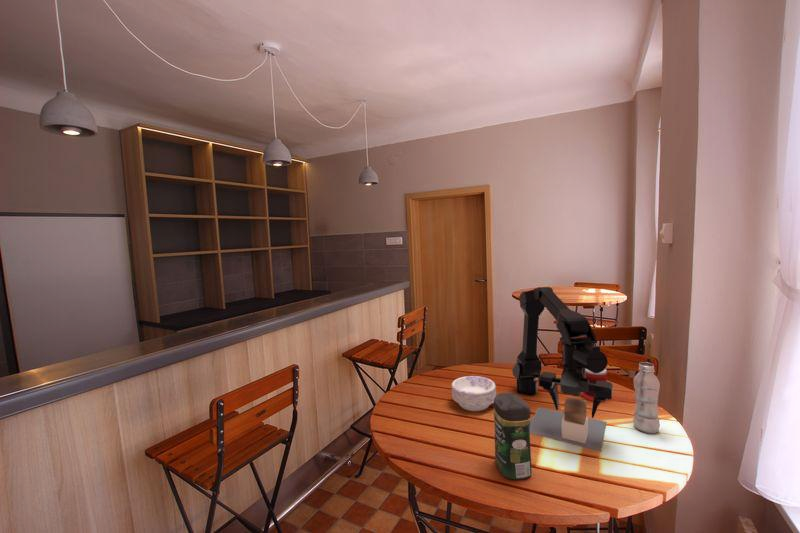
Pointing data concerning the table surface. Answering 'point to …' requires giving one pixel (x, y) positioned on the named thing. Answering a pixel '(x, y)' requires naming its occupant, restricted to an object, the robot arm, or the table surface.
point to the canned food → (594, 382)
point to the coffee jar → (512, 436)
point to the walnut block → (575, 410)
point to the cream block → (575, 431)
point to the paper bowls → (473, 392)
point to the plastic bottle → (646, 399)
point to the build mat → (551, 427)
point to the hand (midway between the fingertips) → (574, 413)
